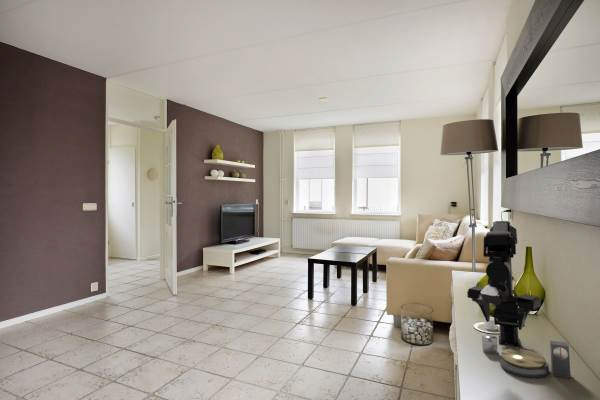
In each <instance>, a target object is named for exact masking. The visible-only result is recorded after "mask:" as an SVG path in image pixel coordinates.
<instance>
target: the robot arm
mask: <svg viewBox="0 0 600 400" xmlns="http://www.w3.org/2000/svg"><path fill="white" fill-rule="evenodd" d="M517 244H518V231H517V228H516V227H514V226H512V225H511V222H510V221H508V220H495V221H493V222H492V226H491V228H489V231H487V232H486V233H485V235H484V236H483V257H484V258H488V264H487V266H486V267H485V268H486V269H485V273H486V276H487V282H486V283H487V284H486V285H485V286H479V285H475V286H472V287H469V288H468V289H467V291H466V294H467V295H466V296H467V298H468V299H471V301H472V302H475V303H476V304H477V305H478V307H479V308H480V310H481V313H482V315H483V317H484V320H485V319H486V321H487V322H489V320H490V317H491V313H490V309H491V306H490V305H491V304H492V305H494V306H495V307H493V318H494V322H495V325H499V327H498V328H499V332H500V333H499V335H498V343H499V344H501V345H508V346H517V347H521V339H520V338H519V337H520V336H519V331H521V330H522V329H523V328H524V327H525V322H526V319H527V318H528V316H529V314H530V312H532V311H536V310H537V309H538V308H540V307H541V306H542V300H541V298H540V297H539V296H537V295H532V294H526V293H523V294H522V295H520V296H516V295H515V290H514V287H513V282H514V280H515V278H514V276H513V270H512V269H513V268H512V259H514V255H517V248H516V247H517Z"/></svg>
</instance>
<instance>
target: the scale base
mask: <svg viewBox="0 0 600 400" xmlns="http://www.w3.org/2000/svg"><path fill="white" fill-rule="evenodd" d="M549 347H550V362H551V363H550V365H551V373H552V376H553V377H559V378H564V379H565V378H566V379H572V378H571V376H572V375H571V362H570V347H569V344H568V343H567V342H565V341H557V340H549ZM499 365H500V366H499V367H500V368H502V369H503V370H504V371H505V372H507V373H509V374H511V375H514V376H517V377H522V378H526V379H544V378H546V377H548V376H549V374H550V368H549V363H548V362H547V361H546V365H545V366H544V367H542V368H537V369H530V368H523V367H518V366H515V365H512V364H510V363H508V362H506V361H505V360H503V358H502V354H501V355H500V356H499Z"/></svg>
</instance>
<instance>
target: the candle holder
mask: <svg viewBox="0 0 600 400" xmlns="http://www.w3.org/2000/svg"><path fill="white" fill-rule="evenodd" d="M479 326H484V327H485V329H486V330H487V331H486V330H482V329H481V328H480V327H479ZM473 328H475V330H478V331H480V332H483V333H487V334H500V331H497V330H498V328H500V327H499V325H495V322H494V316H490V320H489V322H487V321H486V319H485V318H484V321H483V322H481V321H480V322H476V323H475V324H473ZM494 331H495V332H494Z"/></svg>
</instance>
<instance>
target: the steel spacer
mask: <svg viewBox="0 0 600 400" xmlns="http://www.w3.org/2000/svg"><path fill="white" fill-rule="evenodd" d="M481 342H482V352H483V353H485V354H486V355H487V354H488V355H496V354H497V355H498V353H499V351H498V338H497V336H496V335H493V334H490V333H487V334H482V335H481Z"/></svg>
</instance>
